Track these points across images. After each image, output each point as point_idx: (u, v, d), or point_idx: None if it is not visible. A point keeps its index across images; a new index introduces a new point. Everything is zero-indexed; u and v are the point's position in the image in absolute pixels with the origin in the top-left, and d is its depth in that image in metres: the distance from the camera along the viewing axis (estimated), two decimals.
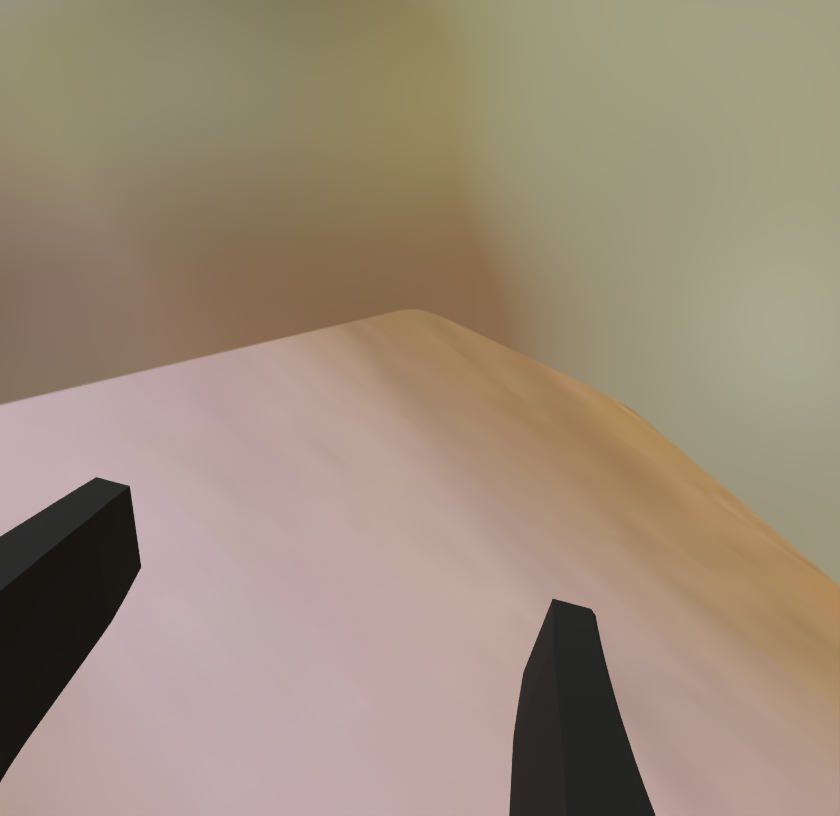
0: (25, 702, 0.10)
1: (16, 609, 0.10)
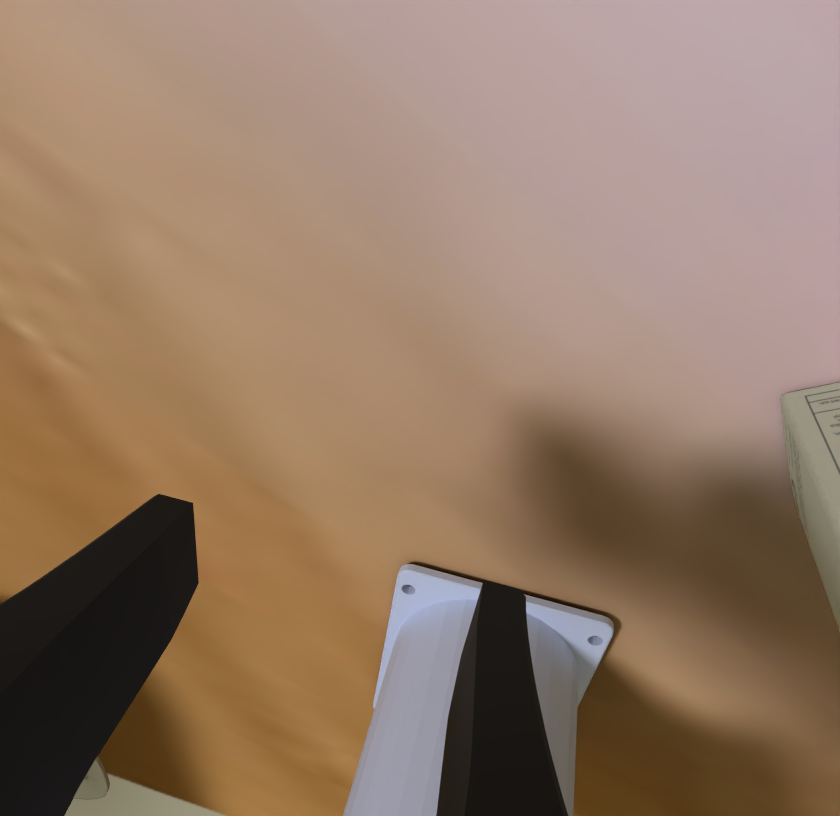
0: (95, 723, 0.10)
1: (92, 631, 0.09)
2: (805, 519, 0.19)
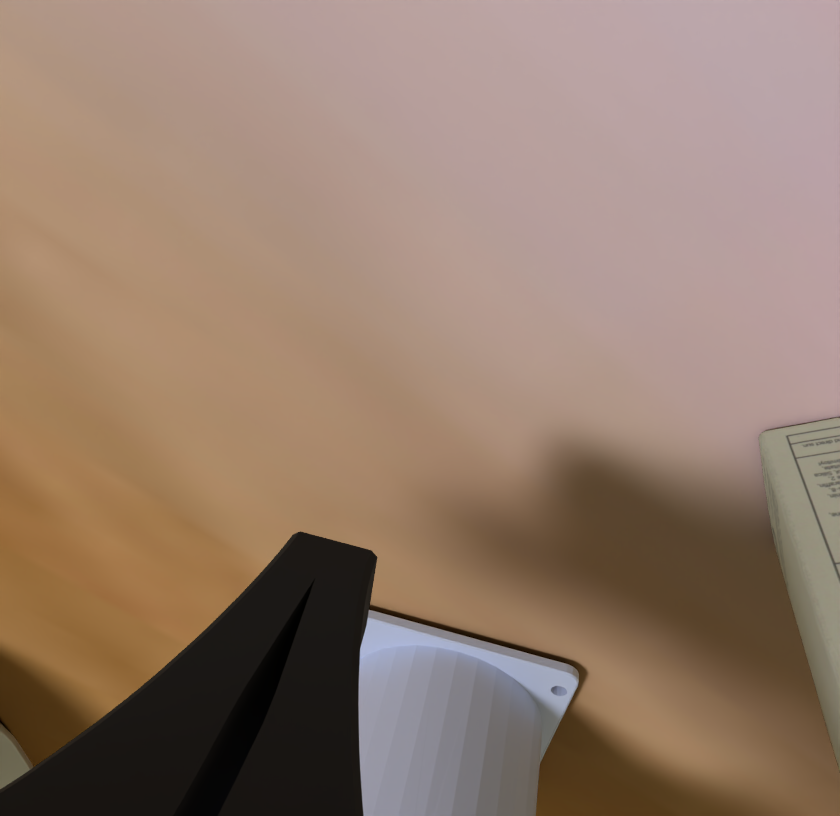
0: None
1: (264, 680, 0.09)
2: (786, 577, 0.17)
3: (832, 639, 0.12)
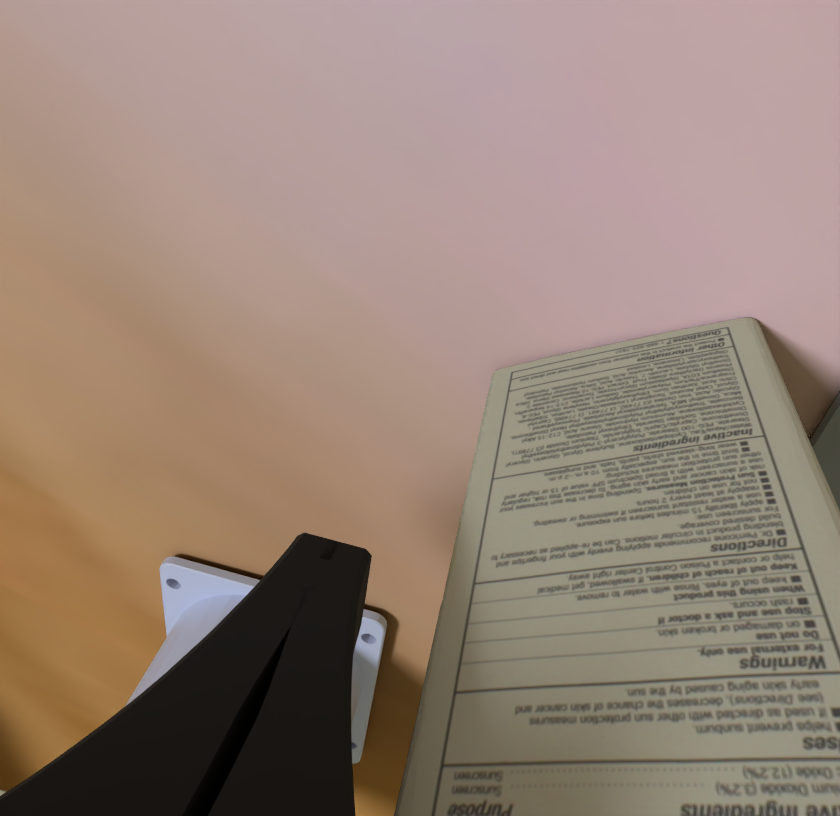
0: None
1: (269, 682, 0.09)
2: None
3: (458, 543, 0.12)
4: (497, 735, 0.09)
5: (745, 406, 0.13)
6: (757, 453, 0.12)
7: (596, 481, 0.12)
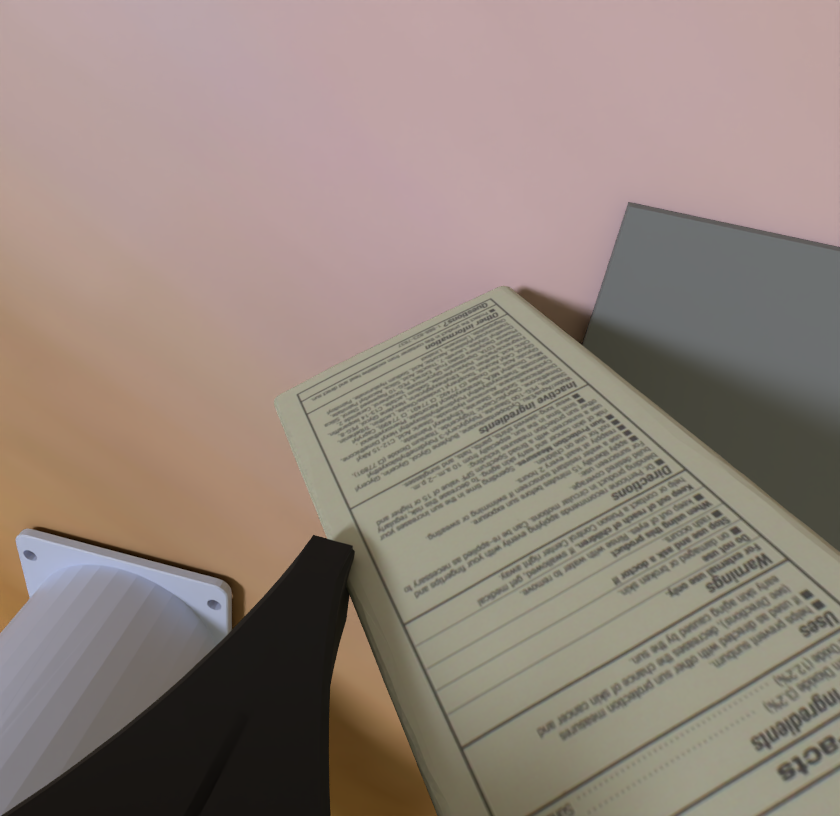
0: None
1: None
2: None
3: (355, 590, 0.11)
4: (539, 769, 0.08)
5: (554, 363, 0.14)
6: (593, 401, 0.12)
7: (463, 474, 0.12)
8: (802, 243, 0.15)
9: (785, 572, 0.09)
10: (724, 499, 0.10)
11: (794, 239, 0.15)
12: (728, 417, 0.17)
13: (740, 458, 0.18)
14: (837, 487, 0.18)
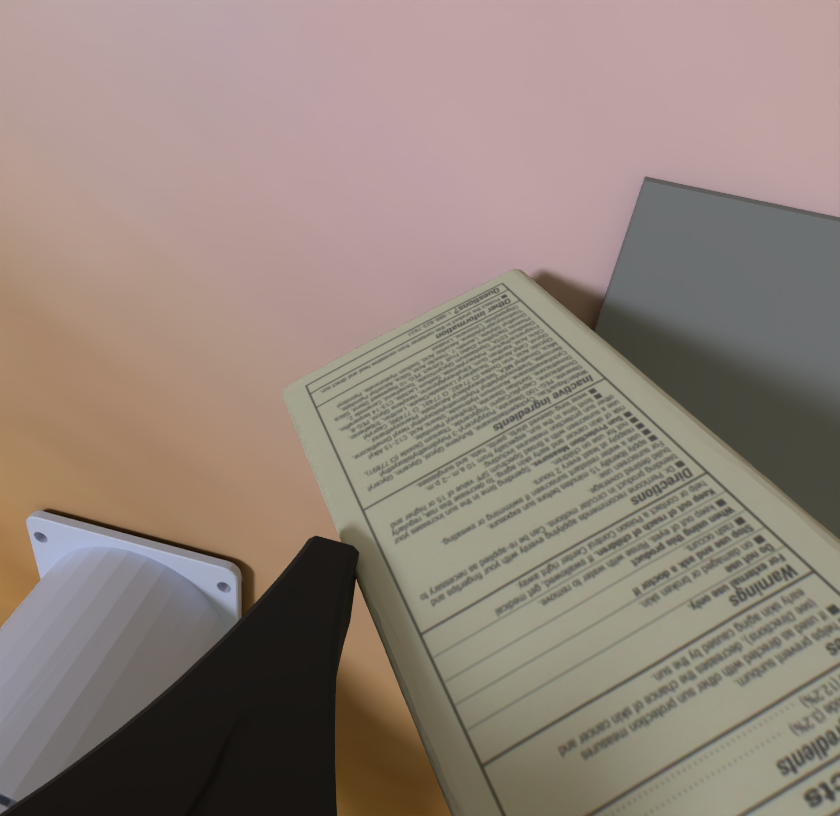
0: None
1: None
2: None
3: (371, 597, 0.11)
4: (560, 789, 0.08)
5: (570, 355, 0.13)
6: (610, 396, 0.12)
7: (478, 474, 0.12)
8: (824, 218, 0.15)
9: (811, 585, 0.09)
10: (747, 505, 0.10)
11: (815, 215, 0.15)
12: (744, 398, 0.17)
13: (756, 440, 0.18)
14: None
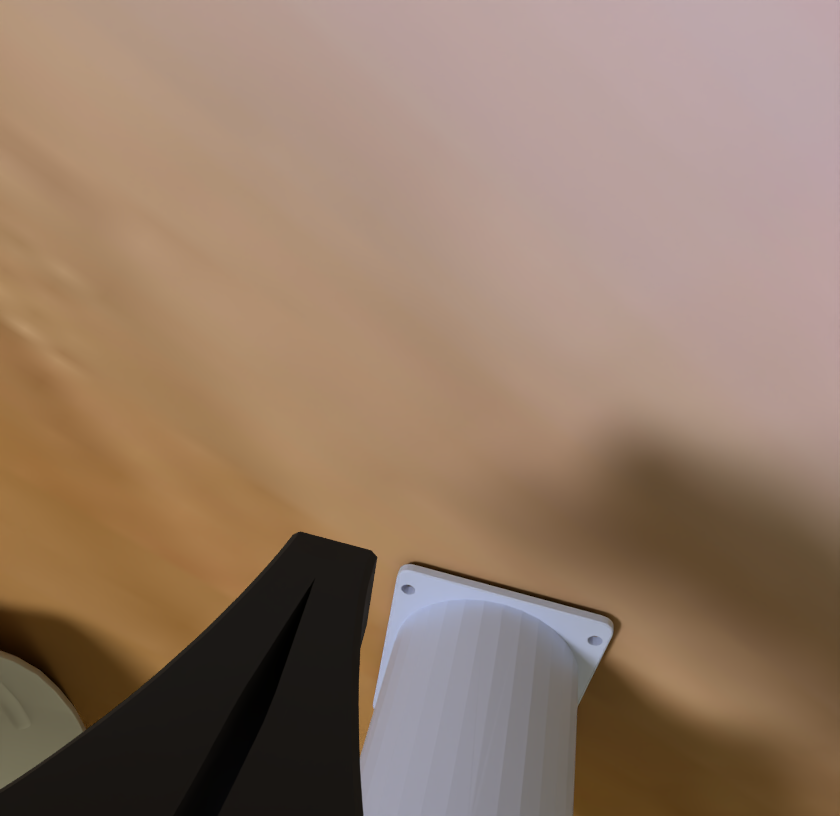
0: None
1: (264, 680, 0.09)
2: None
3: None
4: None
5: None
6: None
7: None
8: None
9: None
10: None
11: None
12: None
13: None
14: None
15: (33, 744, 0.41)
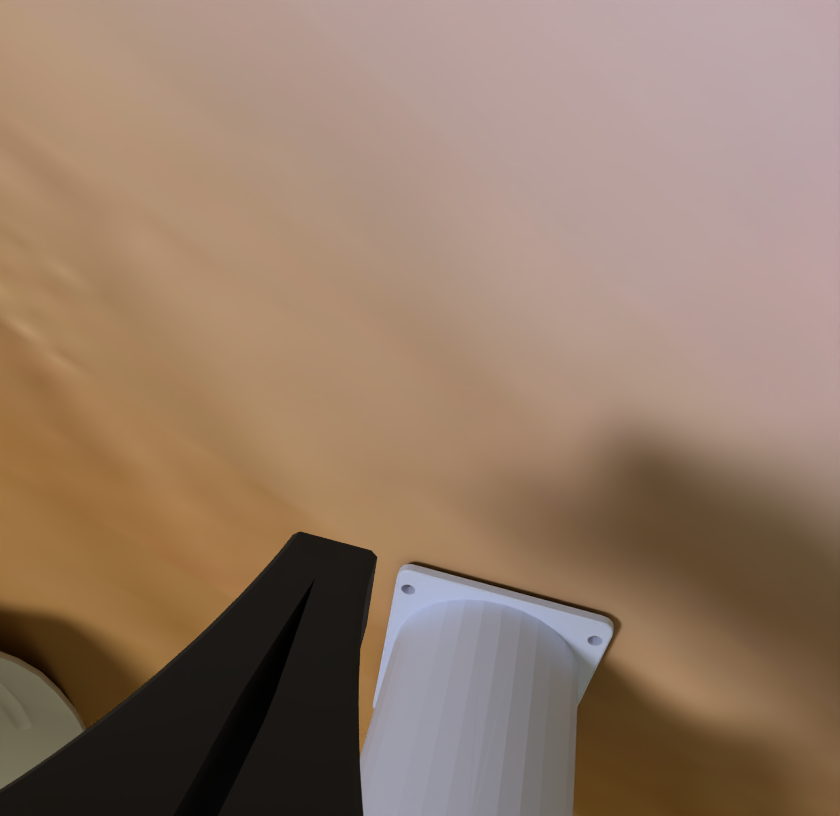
0: None
1: (264, 680, 0.09)
2: None
3: None
4: None
5: None
6: None
7: None
8: None
9: None
10: None
11: None
12: None
13: None
14: None
15: (34, 745, 0.42)
